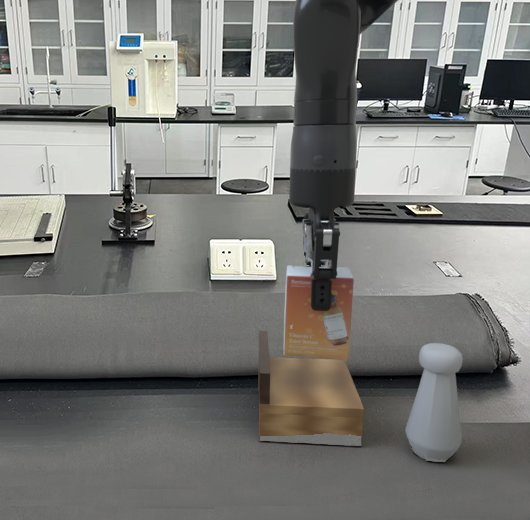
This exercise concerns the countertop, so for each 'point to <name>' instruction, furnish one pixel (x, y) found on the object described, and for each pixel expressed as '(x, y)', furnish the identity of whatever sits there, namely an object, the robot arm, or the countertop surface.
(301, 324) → the small box
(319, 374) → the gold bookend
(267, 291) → the countertop surface
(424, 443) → the salt shaker
